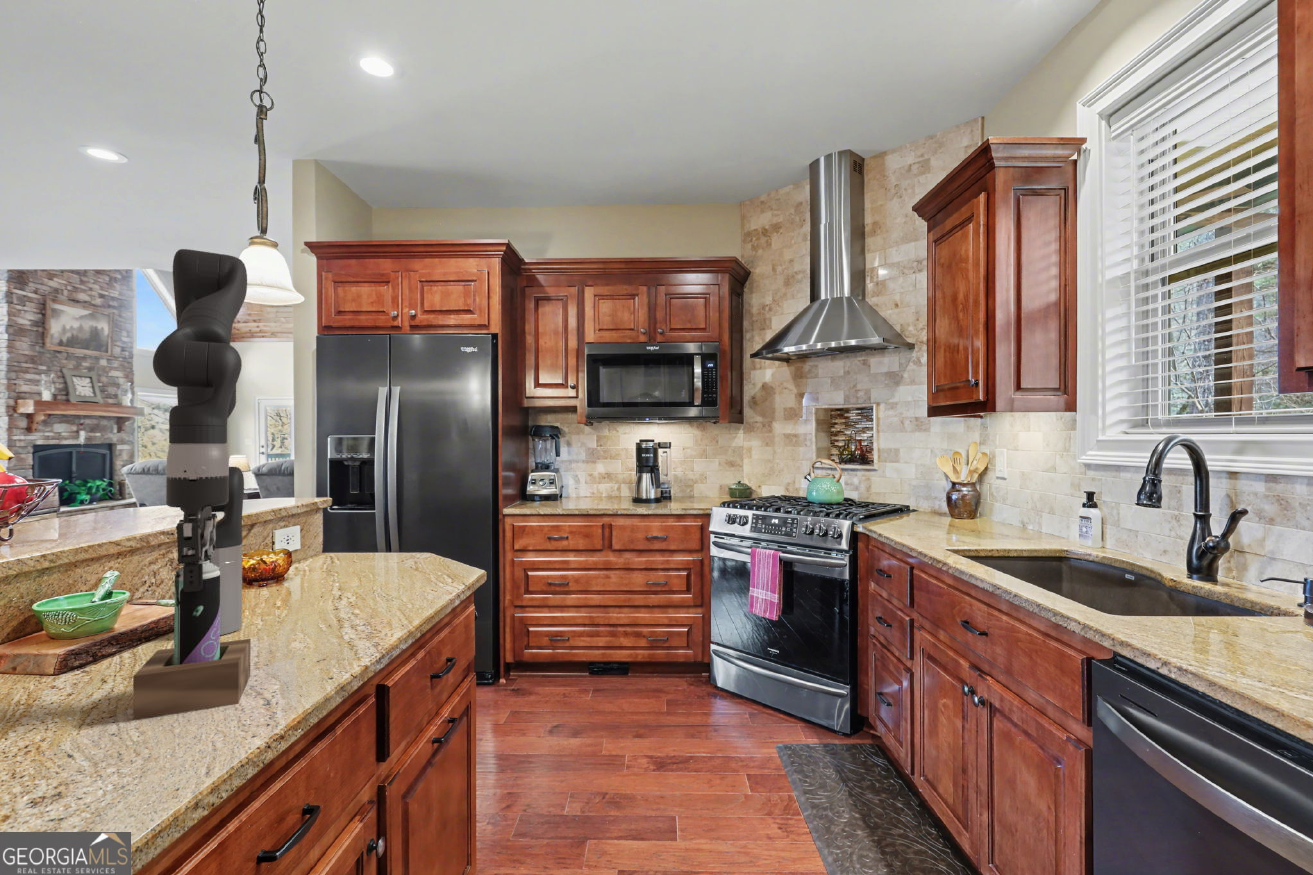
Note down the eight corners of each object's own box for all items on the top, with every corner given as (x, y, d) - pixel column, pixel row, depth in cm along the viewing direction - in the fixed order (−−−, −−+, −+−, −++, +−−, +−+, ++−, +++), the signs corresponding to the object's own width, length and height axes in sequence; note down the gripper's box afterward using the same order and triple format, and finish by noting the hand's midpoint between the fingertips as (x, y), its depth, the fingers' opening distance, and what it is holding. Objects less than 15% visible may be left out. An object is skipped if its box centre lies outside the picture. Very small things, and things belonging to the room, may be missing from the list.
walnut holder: (157, 689, 94) (157, 649, 94) (250, 675, 100) (250, 638, 100) (132, 720, 84) (133, 675, 84) (238, 703, 89) (238, 661, 89)
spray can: (195, 695, 89) (196, 556, 89) (164, 692, 90) (165, 555, 90) (228, 680, 94) (229, 550, 94) (199, 678, 95) (199, 549, 95)
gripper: (179, 472, 97) (178, 579, 97) (153, 476, 84) (152, 600, 84) (236, 471, 100) (235, 575, 100) (219, 475, 87) (218, 594, 87)
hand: (197, 586), depth 92 cm, fingers closed on spray can, 5 cm apart
